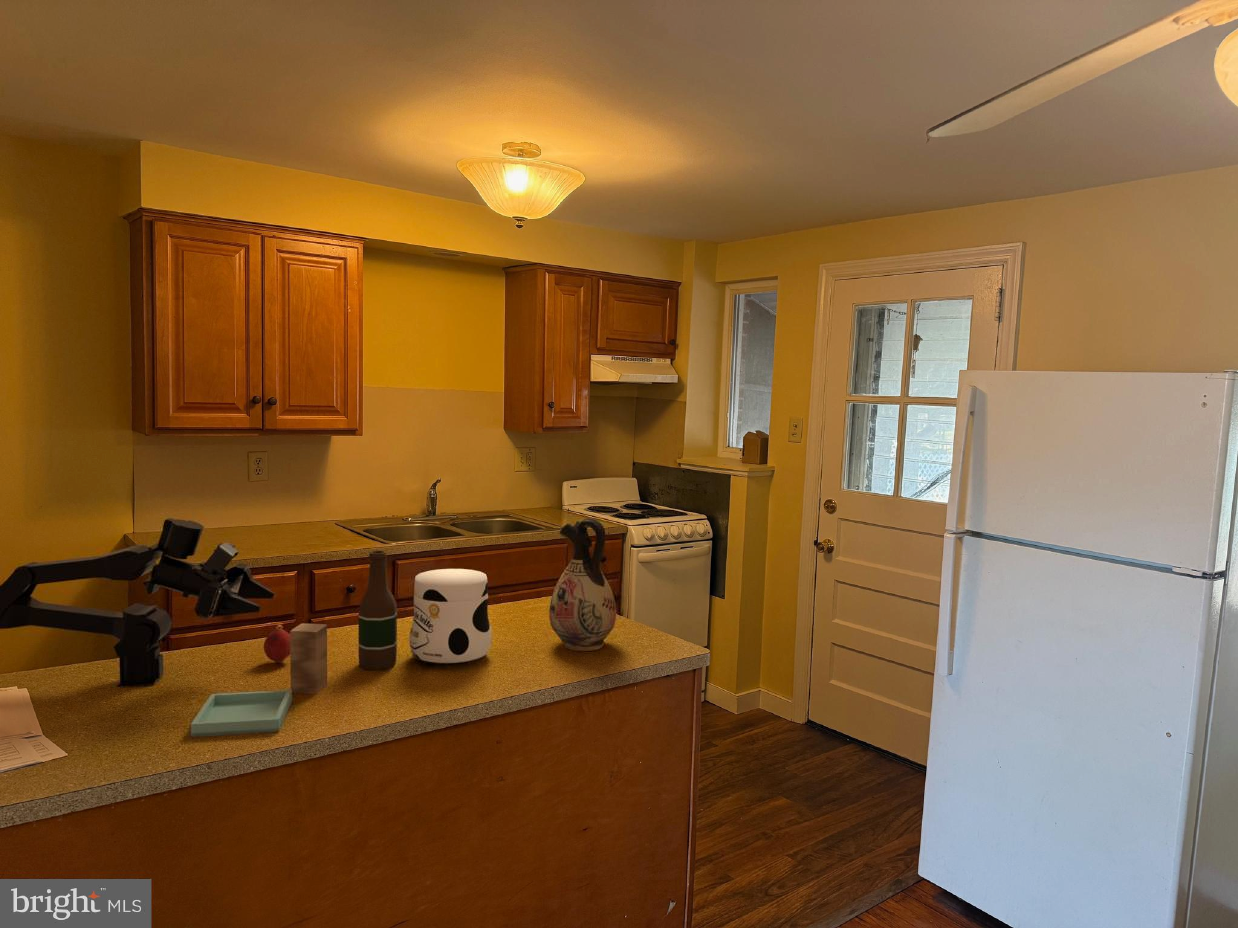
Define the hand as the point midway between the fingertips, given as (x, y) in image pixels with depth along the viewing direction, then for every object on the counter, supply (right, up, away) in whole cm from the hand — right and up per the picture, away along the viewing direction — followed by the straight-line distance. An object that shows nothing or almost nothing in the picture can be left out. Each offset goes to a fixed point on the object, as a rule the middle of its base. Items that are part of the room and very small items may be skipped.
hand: (267, 602), depth 163 cm
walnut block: (+9, -16, -3) cm, 19 cm away
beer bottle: (+18, -15, +11) cm, 26 cm away
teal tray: (+4, -17, -18) cm, 25 cm away
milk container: (+33, -15, +17) cm, 40 cm away
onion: (-2, -15, +11) cm, 18 cm away
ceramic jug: (+61, -15, +27) cm, 68 cm away
